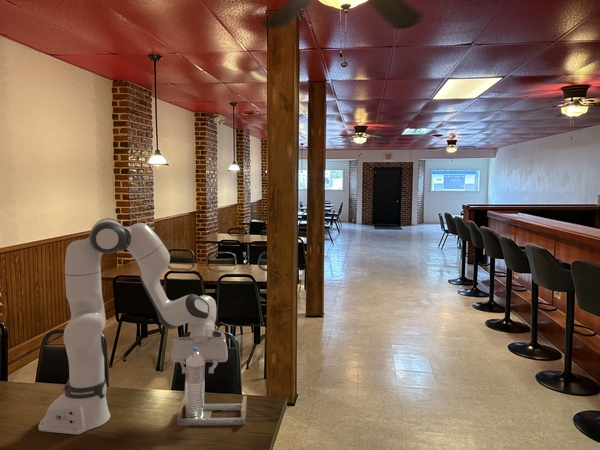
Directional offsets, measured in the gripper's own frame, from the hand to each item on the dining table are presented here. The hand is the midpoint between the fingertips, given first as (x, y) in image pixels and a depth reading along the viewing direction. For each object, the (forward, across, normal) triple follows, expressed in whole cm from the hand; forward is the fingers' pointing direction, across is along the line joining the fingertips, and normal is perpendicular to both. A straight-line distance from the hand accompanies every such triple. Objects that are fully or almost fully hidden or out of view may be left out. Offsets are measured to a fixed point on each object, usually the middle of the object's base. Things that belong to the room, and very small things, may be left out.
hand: (197, 373), depth 159 cm
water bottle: (+11, -1, +12) cm, 16 cm away
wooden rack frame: (+12, +6, +12) cm, 17 cm away
